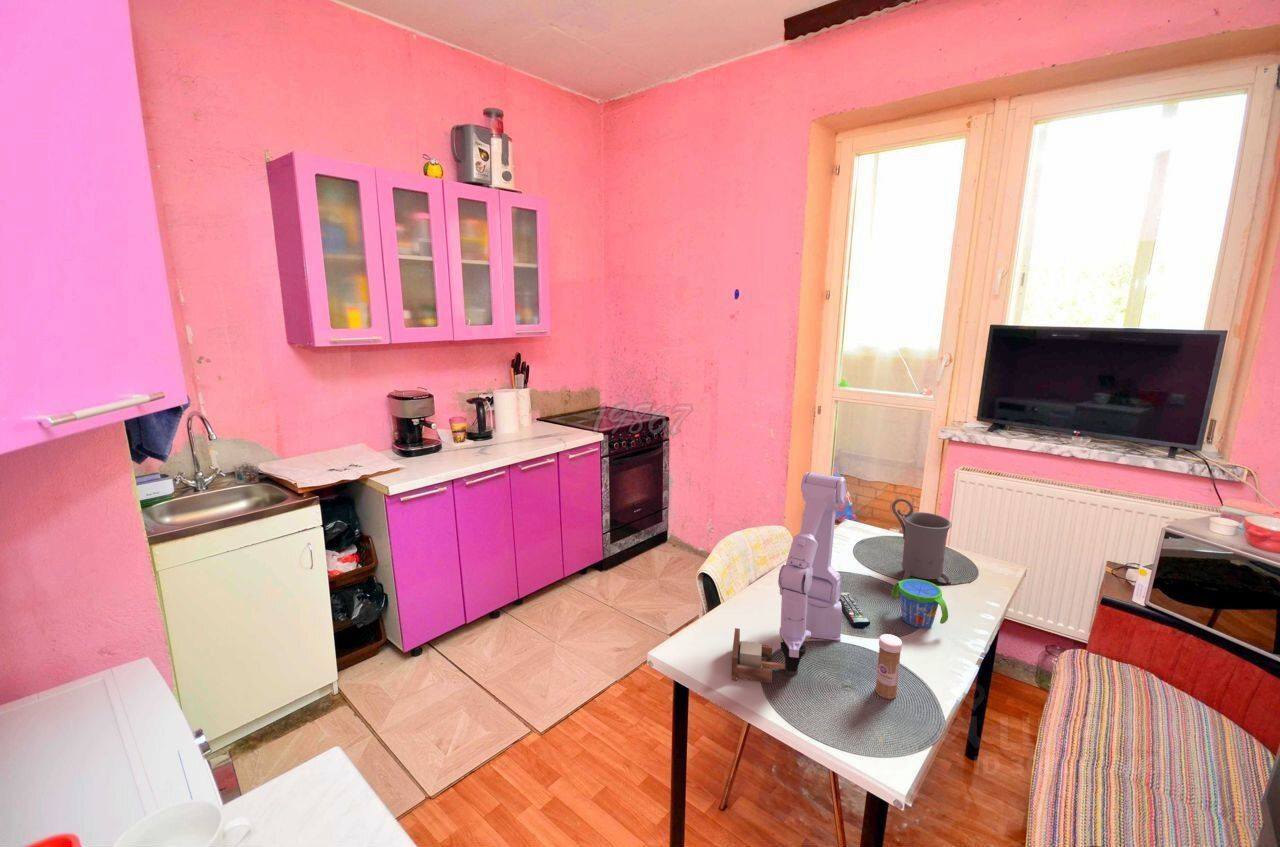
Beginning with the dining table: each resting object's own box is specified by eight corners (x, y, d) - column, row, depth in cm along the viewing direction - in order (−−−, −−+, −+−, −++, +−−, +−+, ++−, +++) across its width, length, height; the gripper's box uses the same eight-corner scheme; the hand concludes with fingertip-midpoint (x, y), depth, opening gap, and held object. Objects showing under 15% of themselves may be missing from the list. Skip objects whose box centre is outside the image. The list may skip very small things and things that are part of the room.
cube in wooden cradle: (771, 653, 135) (772, 632, 134) (771, 685, 124) (772, 662, 122) (734, 649, 137) (735, 628, 136) (731, 680, 126) (731, 657, 124)
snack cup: (880, 611, 153) (883, 578, 151) (908, 603, 157) (911, 571, 155) (926, 641, 139) (929, 605, 137) (956, 632, 142) (960, 597, 140)
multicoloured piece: (797, 665, 130) (798, 643, 129) (798, 679, 126) (799, 656, 124) (740, 658, 133) (741, 637, 132) (739, 671, 129) (740, 649, 127)
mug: (954, 575, 173) (962, 501, 168) (947, 594, 162) (956, 515, 157) (892, 559, 184) (897, 490, 179) (881, 577, 173) (887, 503, 168)
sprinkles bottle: (872, 693, 120) (876, 640, 118) (878, 683, 124) (883, 630, 121) (894, 703, 118) (898, 648, 115) (899, 691, 121) (904, 638, 118)
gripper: (814, 634, 117) (811, 688, 120) (809, 599, 131) (806, 649, 134) (780, 630, 119) (778, 684, 122) (779, 596, 133) (777, 646, 136)
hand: (791, 665), depth 128 cm, fingers closed on multicoloured piece, 3 cm apart
